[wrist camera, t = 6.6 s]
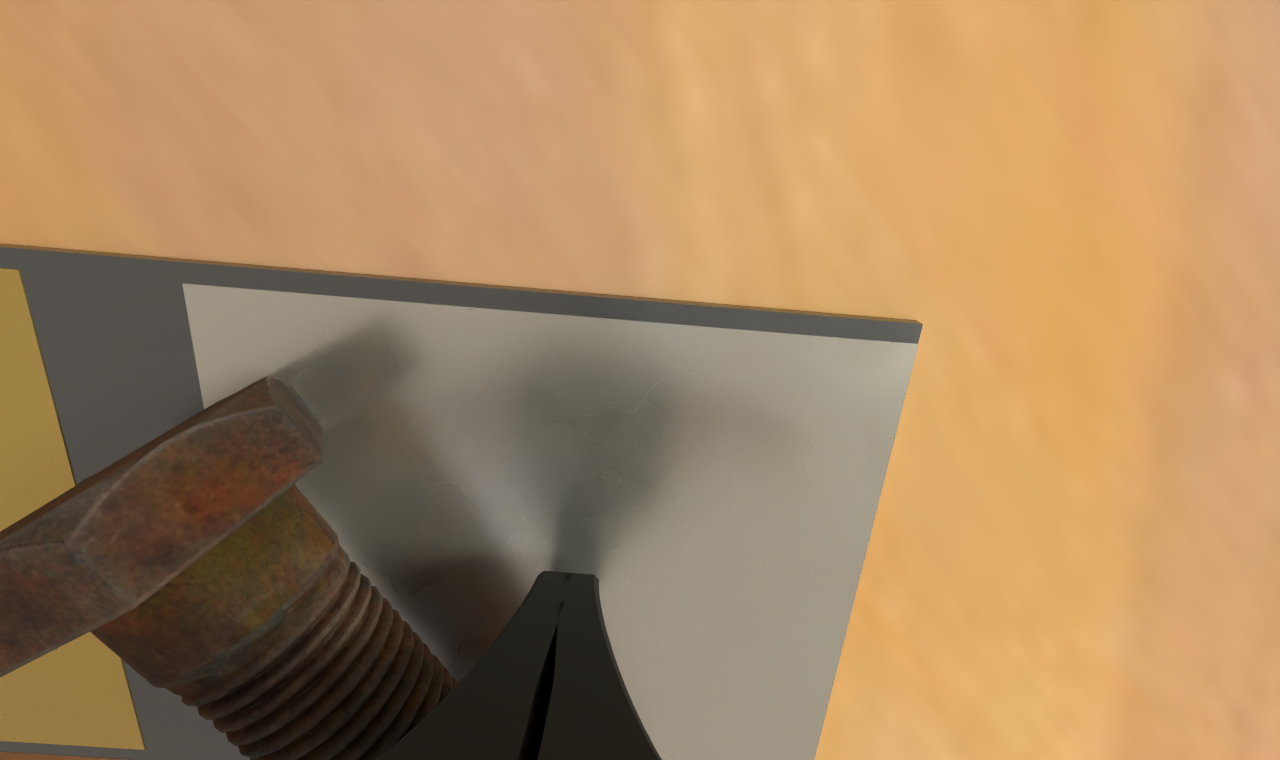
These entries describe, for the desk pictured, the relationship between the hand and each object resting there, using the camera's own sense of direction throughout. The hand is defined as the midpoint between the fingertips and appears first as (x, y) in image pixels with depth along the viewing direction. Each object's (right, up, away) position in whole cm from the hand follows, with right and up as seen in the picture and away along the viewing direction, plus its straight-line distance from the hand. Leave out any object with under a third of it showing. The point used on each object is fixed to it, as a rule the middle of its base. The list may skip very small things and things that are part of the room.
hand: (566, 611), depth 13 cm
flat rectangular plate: (-8, +1, +1) cm, 8 cm away
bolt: (-3, -2, +2) cm, 4 cm away
